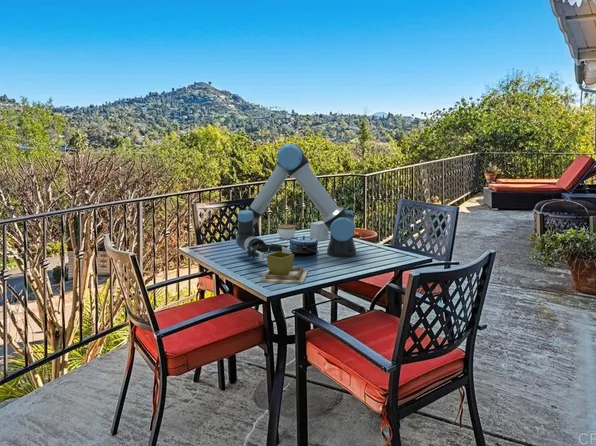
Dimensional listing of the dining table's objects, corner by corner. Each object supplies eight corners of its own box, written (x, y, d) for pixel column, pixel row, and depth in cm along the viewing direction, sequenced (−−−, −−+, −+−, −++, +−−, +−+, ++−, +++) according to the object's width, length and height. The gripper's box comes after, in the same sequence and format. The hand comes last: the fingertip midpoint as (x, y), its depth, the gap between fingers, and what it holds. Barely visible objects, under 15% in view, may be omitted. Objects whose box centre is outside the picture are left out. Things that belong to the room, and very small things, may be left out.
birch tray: (308, 272, 200) (308, 266, 200) (302, 284, 182) (302, 278, 182) (268, 270, 203) (268, 265, 202) (259, 282, 185) (259, 276, 185)
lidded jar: (293, 240, 266) (293, 225, 265) (276, 240, 268) (275, 224, 267) (297, 237, 276) (297, 222, 275) (280, 236, 279) (280, 221, 277)
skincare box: (317, 241, 264) (317, 224, 262) (309, 240, 268) (309, 222, 266) (329, 238, 271) (329, 221, 269) (321, 237, 275) (321, 220, 274)
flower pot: (294, 274, 193) (294, 254, 192) (282, 279, 186) (281, 258, 185) (278, 270, 198) (278, 251, 197) (266, 275, 191) (265, 255, 190)
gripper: (277, 250, 222) (300, 259, 204) (231, 256, 209) (251, 266, 191) (277, 235, 220) (300, 242, 203) (230, 241, 207) (250, 249, 190)
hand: (276, 254), depth 197 cm, fingers open, 13 cm apart
